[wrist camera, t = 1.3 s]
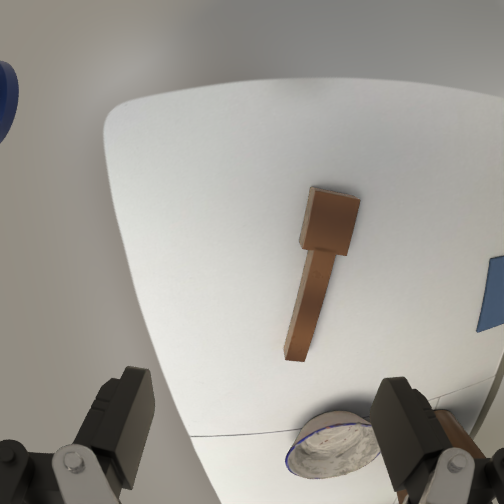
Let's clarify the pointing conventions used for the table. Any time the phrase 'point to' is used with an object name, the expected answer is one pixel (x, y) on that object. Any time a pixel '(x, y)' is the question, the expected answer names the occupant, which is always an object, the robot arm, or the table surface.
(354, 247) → the table surface
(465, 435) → the plant pot
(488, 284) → the cloth
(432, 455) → the robot arm
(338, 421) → the bowl
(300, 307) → the wooden mallet
